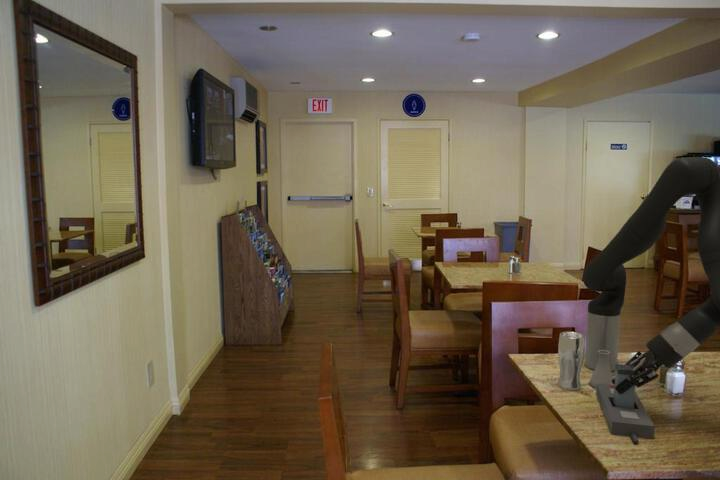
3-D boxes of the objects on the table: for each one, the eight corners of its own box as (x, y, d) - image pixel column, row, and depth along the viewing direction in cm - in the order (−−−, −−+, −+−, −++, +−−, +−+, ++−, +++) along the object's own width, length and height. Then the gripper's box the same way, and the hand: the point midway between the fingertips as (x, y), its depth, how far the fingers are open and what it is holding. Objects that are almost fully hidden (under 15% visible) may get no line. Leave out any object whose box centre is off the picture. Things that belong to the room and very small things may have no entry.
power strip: (596, 393, 156) (596, 381, 156) (631, 397, 154) (632, 384, 153) (614, 442, 129) (615, 427, 129) (658, 447, 127) (659, 432, 126)
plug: (613, 401, 146) (615, 363, 144) (630, 403, 145) (632, 365, 143) (615, 408, 142) (618, 369, 140) (633, 409, 141) (636, 370, 139)
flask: (618, 391, 158) (620, 356, 157) (590, 389, 159) (592, 355, 158) (612, 381, 165) (614, 348, 164) (585, 379, 166) (587, 346, 165)
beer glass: (579, 392, 157) (582, 340, 155) (553, 387, 160) (556, 336, 158) (584, 384, 163) (587, 333, 161) (559, 379, 166) (562, 329, 164)
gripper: (654, 325, 146) (600, 367, 150) (669, 342, 132) (609, 387, 136) (675, 347, 145) (621, 388, 149) (693, 366, 131) (632, 410, 136)
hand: (616, 387), depth 143 cm, fingers closed on plug, 4 cm apart
